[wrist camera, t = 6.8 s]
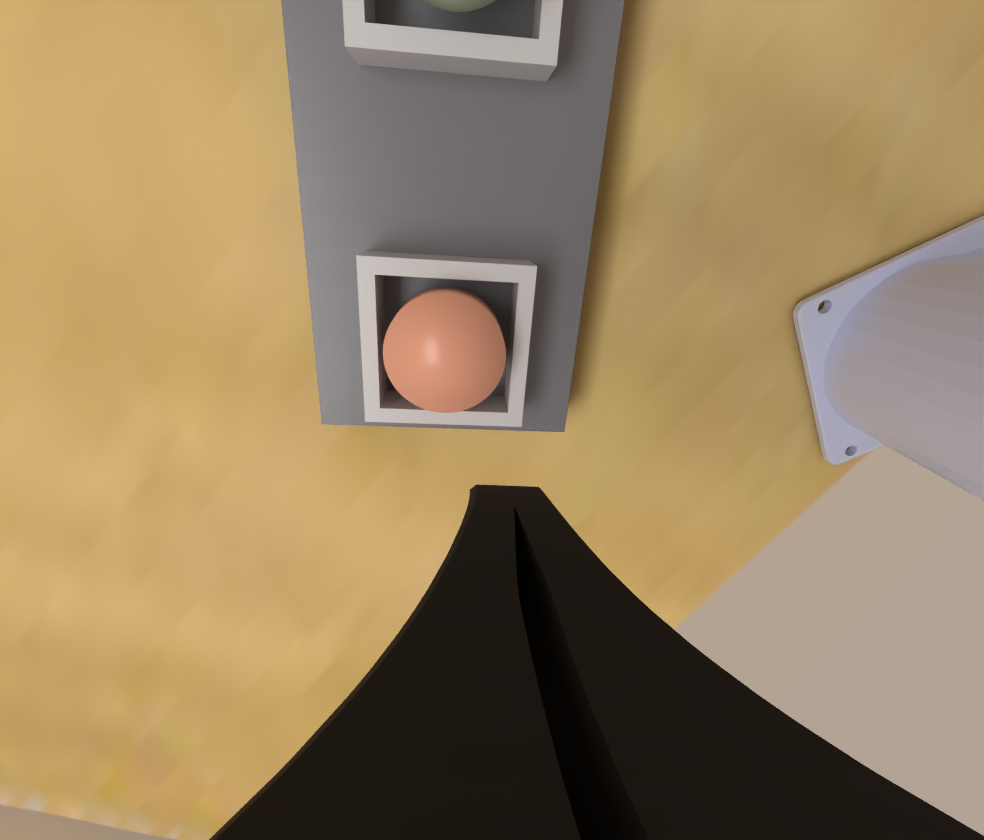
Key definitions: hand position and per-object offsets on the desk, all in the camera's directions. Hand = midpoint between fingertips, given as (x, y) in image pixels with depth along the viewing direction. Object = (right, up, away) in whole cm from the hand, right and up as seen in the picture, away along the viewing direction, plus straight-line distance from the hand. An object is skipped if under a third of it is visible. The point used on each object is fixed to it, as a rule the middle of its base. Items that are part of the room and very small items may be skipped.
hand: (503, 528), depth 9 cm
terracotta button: (-2, +5, +6) cm, 8 cm away
